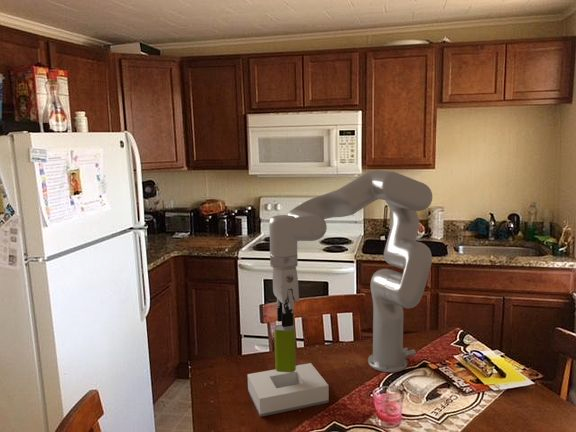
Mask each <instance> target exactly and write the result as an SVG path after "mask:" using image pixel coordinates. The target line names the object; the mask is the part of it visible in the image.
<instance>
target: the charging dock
mask: <svg viewBox="0 0 576 432" xmlns="http://www.w3.org/2000/svg"><path fill="white" fill-rule="evenodd" d="M329 386H330V385H329V384H328V383H327V382H326V380H325V379H324V378H323V376H321V374H320V373H319V371H318V370H317V369H316V368H315V367H314V365H313V364H312V363H311V362H310V363H308V362H307V363H304V364H298V365H296V370H295V371H294V372H291V373H290V372H277V371H276V368H275V369H271V370H264V371H258V372H253V373H247V391H248V393H249V396H250V398H251V400H252V402H253V405H254V408H256V411H257V413H258V415H259V417H265V416H266V417H267V416H271V415H276V414H281V413H285V412H291V411H294V410H295V411H296V410H300V409H305V408H309V407H314V406H319V405H324V404H328V403H329V397H330V395H329V391H330V390H329Z"/></svg>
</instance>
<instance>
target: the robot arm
mask: <svg viewBox="0 0 576 432" xmlns="http://www.w3.org/2000/svg"><path fill="white" fill-rule="evenodd" d="M377 200H382V201H385V202H386V204H387V206H388V207H389V209H390V213H391V224H390V229H389V232H388V236H387V240H386V242H385V245H384V246H385V247H384V250H383V258H384V261H385V262H386V263H387V264H388V265H390V266H393V267H395V268H398V269H401V270H403V272H398V271H395V270H393V269H390V268H382V269H381V268H380V269H378V270H376V272H374V273H373V274H372V276H371V280H370V293H371V298H372V308H373V310H372V312H373V313H372V316H373V319H372V353H371V354H370V355H369V356H368V358H367V362H368V365H369V366H370V368H371V369H372V368H373V369H374V370H376V371H379V372H383V373H398V372H401V371H403V370H405V369H406V368H407V367H408V359H407V358H408V357H413V356H416V355H417V352H416V349H413V348H412V349H408V347H403V346H404V341H403V340H404V309H413V308H415V307H416V306H418V304H419V303H420V302H421V300H422V299H423V298H422V297H423V295H424V291H425V288H426V286H427V285H426V284H427V282H428V278H429V275H430V270H431V266H432V262H433V258H432V257H433V256H432V251H431V249H430V247H428V245H426V244H425V243H423V242H420V241H417V236H418V231H419V227H420V220H419V219H420V218H419V215H418V213H417V212H423V211H425V210H427V209H428V208H429V207H430V206H431V205H432V202H433V191H432V190H431V188H430V187H429V185H427V184H426V183H424V182H422V181H419V180H416V179H414V178H412V177H409V176H406V175H404V174H402V173H399V172H396V171H395V172H394V171H389V170H377V169H373V170H370V171H367V172H365V173H363V174H362V175H359V176H358V177H357V178H355V179H353V180H351V182H349V183H347V184H345V185H343V186H342V187H340V188H338V189H336V190H332V191H330V192H326V193H324V194H321V195H319V196H315V197H313V198H310V199H308V200H306V201H304V202H302V203H301V204H298V205H296V206H295V207H294V208H292V209H291V210H290V211H288V213H286V214H279V215H274V216H271V218H270V219H269V221H268V222H269V224H268V225H269V227H268V229H269V261H270V265H269V266H270V268H272V292H273V294H274V296H275V298H276V307H277V308H276V311H277V313H276V315H277V319H276V320H277V322H278V323H279V322H281V325H282V327H288V326H293V309H295V303H299V302H300V289H299V288H300V287H299V277H298V272H297V271H298V270H297V267H298V266H299V265H298V263H299V262H298V242H314V241H317V240H320V239H322V238H323V237H324V236H325V234H326V232H327V228H328V227H327V222H326V220H327V219H332V218H344V217H349V216H353V215H355V214H356V213H358V212H359V211H361V210H363V209H364V208H366V207H367V206H369V205H370V204H372V203H374V202H375V201H377ZM294 302H295V303H294ZM285 305H288V306H286V308H285ZM282 310H283V312H282Z"/></svg>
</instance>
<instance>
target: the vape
mask: <svg viewBox="0 0 576 432" xmlns="http://www.w3.org/2000/svg"><path fill="white" fill-rule="evenodd" d="M286 306H288V305H285V308H286ZM294 309H295V308H294ZM294 309H293V326H288V327H282V324H277V325H275V326H274V328H273V329H274V360H275V363H274V364H275V369H276V371H277V372H290V373H291V372H294V371H295V370H296V366H297V365H296V363H297V361H296V357H297V356H296V354H297V353H296V336H297V334H296V326H295V317H294V316H295V314H294V313H295V311H294ZM282 312H283V310H282Z"/></svg>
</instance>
